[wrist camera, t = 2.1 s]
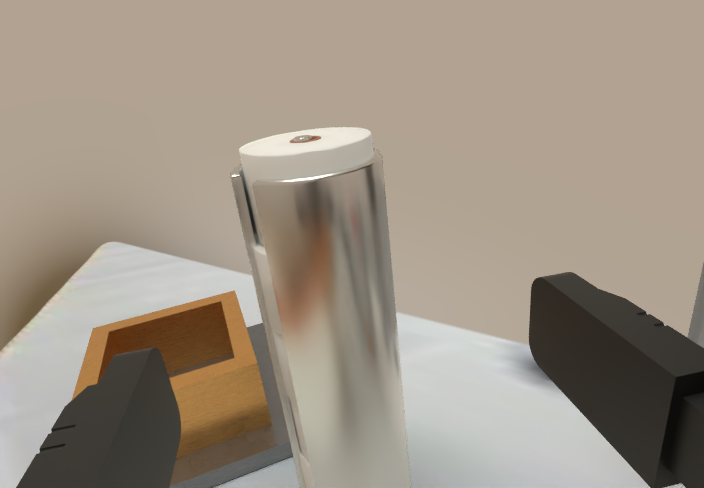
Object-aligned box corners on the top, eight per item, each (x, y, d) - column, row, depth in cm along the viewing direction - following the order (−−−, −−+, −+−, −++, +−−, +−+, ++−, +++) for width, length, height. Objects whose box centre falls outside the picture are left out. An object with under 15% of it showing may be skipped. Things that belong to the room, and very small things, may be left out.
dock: (268, 333, 51) (255, 274, 48) (312, 448, 35) (297, 370, 32) (94, 385, 46) (68, 323, 43) (56, 547, 30) (10, 466, 27)
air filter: (307, 501, 31) (228, 136, 21) (398, 477, 32) (361, 117, 22) (319, 604, 25) (217, 164, 15) (430, 571, 26) (399, 136, 16)
